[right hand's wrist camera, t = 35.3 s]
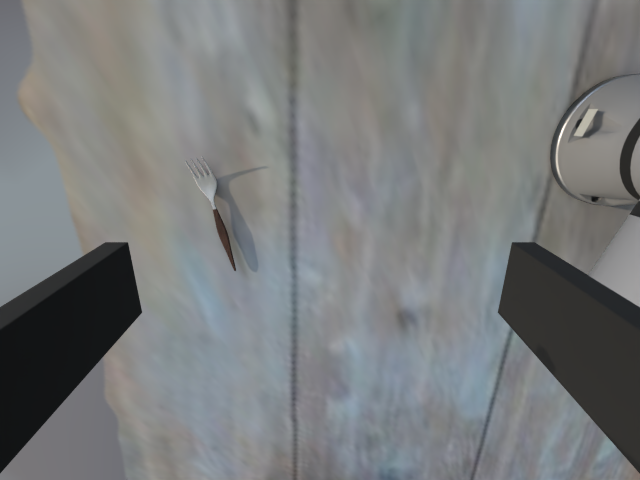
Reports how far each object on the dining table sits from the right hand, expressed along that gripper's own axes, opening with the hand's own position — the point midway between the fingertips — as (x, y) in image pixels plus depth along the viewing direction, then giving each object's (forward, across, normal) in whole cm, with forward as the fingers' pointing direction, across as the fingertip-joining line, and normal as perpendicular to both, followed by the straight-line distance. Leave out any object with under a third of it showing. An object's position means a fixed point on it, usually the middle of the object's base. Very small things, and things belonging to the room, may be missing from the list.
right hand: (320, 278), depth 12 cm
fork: (+34, -14, -8) cm, 37 cm away
